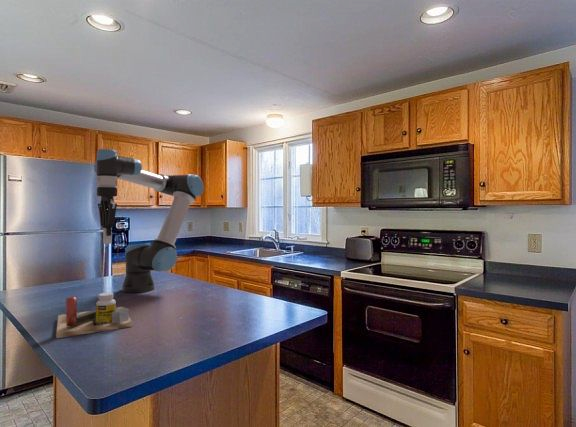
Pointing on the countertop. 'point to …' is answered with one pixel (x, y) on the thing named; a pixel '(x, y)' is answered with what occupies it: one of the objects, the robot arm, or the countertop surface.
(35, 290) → the countertop surface
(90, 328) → the tan flat square sheet
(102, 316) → the pill bottle
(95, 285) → the countertop surface
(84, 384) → the countertop surface
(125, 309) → the grey angular block
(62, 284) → the countertop surface
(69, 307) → the lever
